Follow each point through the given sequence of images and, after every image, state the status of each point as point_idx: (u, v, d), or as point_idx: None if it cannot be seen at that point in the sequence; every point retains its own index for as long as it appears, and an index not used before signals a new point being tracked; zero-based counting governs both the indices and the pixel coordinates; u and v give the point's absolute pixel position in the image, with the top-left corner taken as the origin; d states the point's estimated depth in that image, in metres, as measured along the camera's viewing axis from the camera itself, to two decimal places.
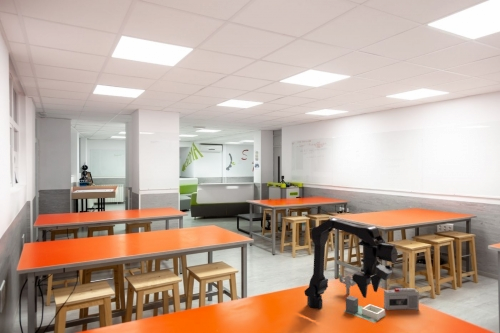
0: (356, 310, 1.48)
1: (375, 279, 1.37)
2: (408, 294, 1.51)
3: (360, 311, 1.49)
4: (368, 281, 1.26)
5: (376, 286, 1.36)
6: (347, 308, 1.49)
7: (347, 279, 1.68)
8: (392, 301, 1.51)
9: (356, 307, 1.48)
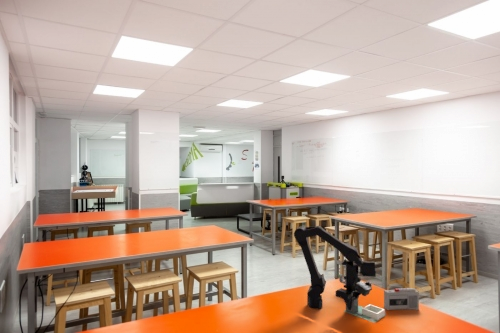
0: (356, 310, 1.48)
1: (354, 296, 1.51)
2: (408, 294, 1.51)
3: (360, 311, 1.49)
4: (349, 297, 1.42)
5: None
6: (347, 308, 1.49)
7: None
8: (392, 301, 1.51)
9: (356, 307, 1.48)
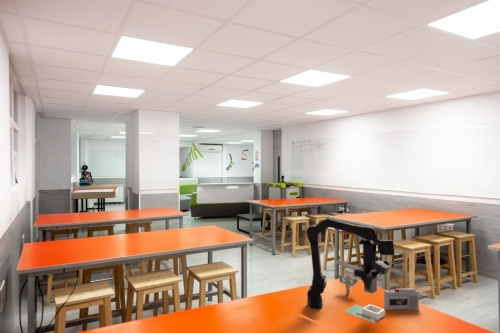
0: (375, 290, 1.45)
1: (372, 276, 1.48)
2: (408, 294, 1.51)
3: (360, 311, 1.49)
4: (368, 276, 1.39)
5: None
6: None
7: (347, 279, 1.68)
8: (392, 301, 1.51)
9: (375, 287, 1.45)
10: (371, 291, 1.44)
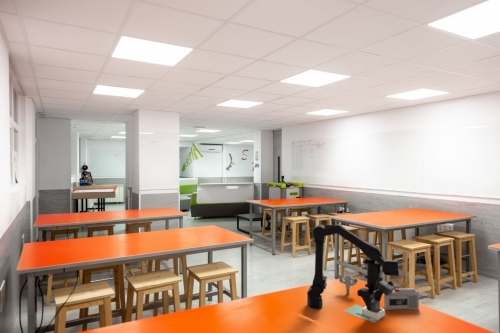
0: None
1: (377, 294, 1.49)
2: (408, 294, 1.51)
3: (360, 311, 1.49)
4: (372, 296, 1.38)
5: (378, 300, 1.48)
6: None
7: (347, 279, 1.68)
8: (392, 301, 1.51)
9: (378, 310, 1.44)
10: None
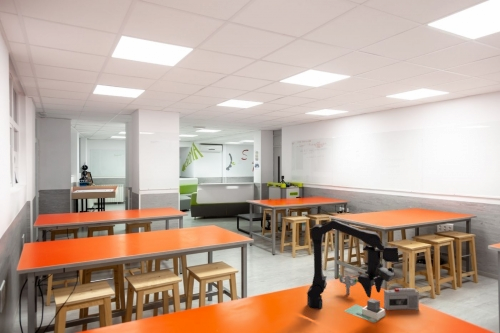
0: None
1: (378, 281, 1.49)
2: (408, 294, 1.51)
3: (360, 311, 1.49)
4: (372, 282, 1.38)
5: (379, 287, 1.48)
6: None
7: (347, 279, 1.68)
8: (392, 301, 1.51)
9: (378, 310, 1.44)
10: None
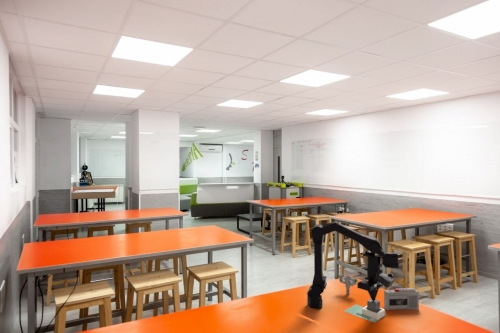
0: None
1: None
2: (408, 294, 1.51)
3: (360, 311, 1.49)
4: (372, 288, 1.38)
5: None
6: None
7: (347, 279, 1.68)
8: (392, 301, 1.51)
9: (378, 310, 1.44)
10: None
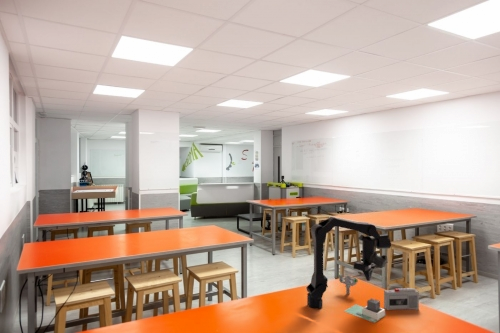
0: None
1: None
2: (408, 294, 1.51)
3: (360, 311, 1.49)
4: (366, 269, 1.50)
5: None
6: None
7: (347, 279, 1.68)
8: (392, 301, 1.51)
9: (378, 310, 1.44)
10: None
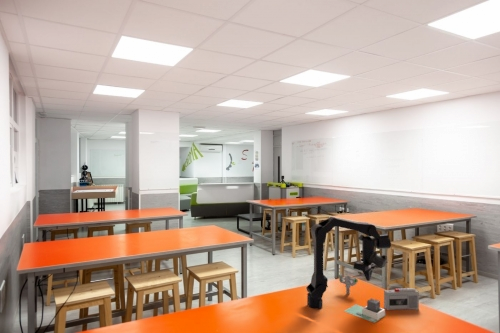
0: None
1: None
2: (408, 294, 1.51)
3: (360, 311, 1.49)
4: (366, 269, 1.50)
5: None
6: None
7: (347, 279, 1.68)
8: (392, 301, 1.51)
9: (378, 310, 1.44)
10: None
